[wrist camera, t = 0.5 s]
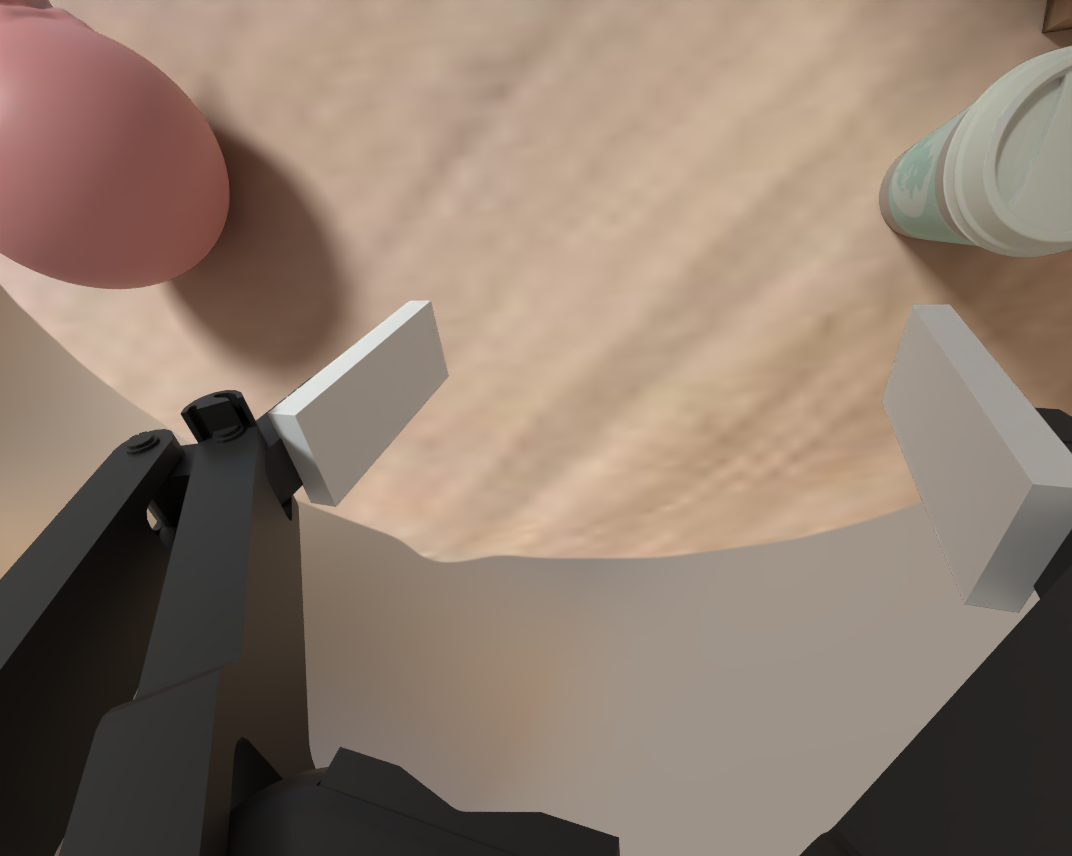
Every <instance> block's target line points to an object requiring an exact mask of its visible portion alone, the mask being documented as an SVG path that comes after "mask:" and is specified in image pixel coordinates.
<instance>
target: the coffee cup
mask: <svg viewBox="0 0 1072 856" xmlns="http://www.w3.org/2000/svg"><path fill="white" fill-rule="evenodd" d="M879 204H880V210H881V213H882V216H883V218H884V220H885V221H886V223H887V224H888V225H889V226H890V227H891V228H892V229H893V230H894V231H896V232H897V233H899V234H901V235H903V236H906V237H910V238H916V239H924V240H932V241H940V242H948V243H957V244H965V245H973V246H980V247H982V248H984V249H986V250H988V251H991V252H994V253H997V254H1000V255H1005V256H1011V257H1040V256H1046V255H1051V254H1055V253H1059V252H1063V251H1066V250H1070V249H1072V46H1069V47H1065V48H1061V49H1057V50H1053V51H1050V52H1047V53H1044V54H1041V55H1039V56H1036V57H1034V58H1032V59H1030V60H1028V61H1026V62H1024V63H1022V64H1020V65H1018V66H1017V67H1015V68H1013V69H1012V70H1010V71H1009V72H1007V73H1006V74H1005V75H1003V76H1002V77H1001V78H999V79H998V80H997V81H996V82H994V83H993V84H992V85H991V86H990V87H989V88H988V89H987V90H986V91H985V92H984V93H983V94H982V95H981V96H980V97H979V98H978V99H977V100H976V101H975V103H974V104H972V105H971V106H969V107H968V108H967V109H965V110H964V111H962V112H961V113H959V114H958V115H956V116H955V117H954V118H952V119H951V120H949V121H948V122H946V123H945V124H944V125H942V126H941V127H939V128H938V129H936V130H935V131H933V132H932V133H931V134H929V135H928V136H926V137H925V138H923V139H922V140H921V141H919V142H918V143H917V144H915V145H914V146H912V147H911V148H910V149H908V150H907V151H905V152H904V153H903V154H902V155H901V156H899V157H898V158H897V159H896V161H895V162H894V163H893V164H892V165H891V167H890V168H889V170H888V171H887V173H886V175H885V177H884V179H883V182H882V185H881V189H880V194H879Z"/></svg>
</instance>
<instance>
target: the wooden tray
mask: <svg viewBox="0 0 1072 856" xmlns="http://www.w3.org/2000/svg"><path fill="white" fill-rule="evenodd" d="M1067 29H1072V0H1048V1H1047V7H1046V13H1045V19H1044V24H1043V30H1042V33H1046V32H1053V31H1060V30H1067Z"/></svg>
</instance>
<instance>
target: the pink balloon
mask: <svg viewBox="0 0 1072 856" xmlns="http://www.w3.org/2000/svg"><path fill="white" fill-rule="evenodd" d="M229 198H230V191H229V179H228V173H227V168H226V164H225V161H224V158H223V155H222V152H221V149H220V147H219V144H218V142H217V140H216V138H215V136H214V134H213V132H212V130H211V128H210V126H209V125H208V123H207V122H206V120H205V118H204V117H203V115H202V114H201V113H200V111H199V110H198V108H197V107H196V106H195V105H194V103H193V102H192V101H191V100H190V98H189V97H188V96H187V95H186V94H185V93H184V92H183V91H182V90H181V88H180V87H179V86H178V85H177V84H176V83H175V82H173V81H172V80H171V79H170V78H169V77H168V76H167V75H166V74H165V73H163V72H162V71H161V70H160V69H159V68H157V67H156V66H155V65H153V64H152V63H151V62H149V61H148V60H147V59H145V58H144V57H142V56H141V55H139V54H138V53H136V52H134V51H133V50H131V49H129V48H128V47H126V46H124V45H122V44H121V43H119V42H117V41H115V40H113V39H111V38H108V37H106V36H104V35H102V34H99V33H97V32H95V31H94V30H93V29H92V28H90V27H89V26H88V25H87V24H86V23H84V22H83V21H81V20H79V19H78V18H76V17H74V16H73V15H72V14H70V13H69V12H68V11H66V10H64V9H61V8H54V7H53V6H52V5H51V4H50V2H49V0H0V253H1V254H3V255H5V256H6V257H8V258H10V259H11V260H13V261H15V262H17V263H19V264H21V265H23V266H25V267H27V268H29V269H31V270H33V271H36V272H38V273H41V274H43V275H46V276H49V277H52V278H55V279H58V280H61V281H64V282H68V283H72V284H77V285H82V286H87V287H94V288H104V289H131V288H140V287H146V286H151V285H155V284H159V283H162V282H165V281H168V280H170V279H173V278H175V277H177V276H179V275H181V274H183V273H185V272H186V271H188V270H190V269H191V268H193V267H194V266H195V265H197V264H198V263H199V262H200V261H201V260H202V259H203V258H204V257H205V256H206V255H207V254H208V253H209V252H210V251H211V249H212V248H213V247H214V245H215V244H216V242H217V240H218V239H219V237H220V235H221V233H222V231H223V228H224V225H225V222H226V219H227V215H228V209H229Z"/></svg>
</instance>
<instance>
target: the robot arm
mask: <svg viewBox="0 0 1072 856" xmlns="http://www.w3.org/2000/svg"><path fill="white" fill-rule="evenodd" d="M448 376H449V375H448V371H447V367H446V363H445V359H444V354H443V350H442V346H441V342H440V338H439V333H438V329H437V325H436V321H435V316H434V312H433V308H432V304H431V301H409V302H407V303H406V304H405V305H404V306H402V307H401V308H400V309H399V310H397V311H396V312H395V313H394V314H392V315H391V316H390V317H388V318H387V319H386V320H385V321H383V322H382V323H381V324H380V325H378V326H377V327H376V328H375V329H373V330H372V331H371V332H369V333H368V334H367V335H366V336H364V337H363V338H362V339H361V340H359V341H358V342H357V343H356V344H354V345H353V346H352V347H350V348H349V349H348V350H347V351H345V352H344V353H343V354H342V355H340V356H339V357H338V358H337V359H335V360H334V361H333V362H331V363H330V364H329V365H328V366H326V367H325V368H324V369H323V370H321V371H320V372H319V373H318V374H316V375H315V376H313V377H311V378H310V379H308V380H307V381H306V382H305V383H303V384H302V385H301V386H300V387H298V389H297V390H294V391H293V392H292V393H291V394H289V395H288V397H287V398H284V399H283V400H282V401H280V402H279V403H278V404H277V405H275V406H274V407H273V408H272V409H270V410H269V411H268V412H266V413H265V414H264V415H263V416H261V417H260V418H259V419H258V420H256V421H255V419H254V417H253V415H252V413H251V411H250V409H249V407H248V405H247V403H246V401H245V399H244V397H243V395H242V393H241V392H239V391H236V390H225V391H220V392H215V393H212V394H209V395H206V396H203V397H201V398H199V399H197V400H195V401H193V402H192V403H190V404H189V405H188V406H186V407H185V408H184V409H183V411H182V412H181V415H182V417H183V419H184V420H185V422H186V424H187V425H188V427H189V429H190V430H191V432H192V434H193V435H194V437H195V439H196V440H197V442H198V444H191V445H184V446H180V444H179V442H178V441H177V439H176V438H175V436H174V434H173V433H172V431H170V430H166V429H161V430H154V431H149V432H142V433H139V435H135V436H132V437H131V438H130V439H129V440H127V441H126V442H124V443H122V444H121V445H120V446H119V447H117V448H116V449H115V450H114V451H113V452H112V454H111V455H110V456H109V457H108V458H107V459H106V460H105V461H104V462H103V464H102V465H101V466H100V467H99V468H98V469H97V470H96V472H95V473H94V474H93V475H92V476H91V477H90V478H89V479H88V481H87V482H86V483H85V484H84V485H83V486H82V488H81V489H80V490H79V491H78V492H77V493H76V494H75V495H74V497H73V498H72V499H71V500H70V501H69V502H68V503H67V504H66V506H65V507H64V508H63V509H62V510H61V511H60V512H59V514H58V515H57V516H56V517H55V518H54V519H53V520H52V521H51V523H50V524H49V525H48V526H47V527H46V528H45V529H44V531H43V532H42V533H41V534H40V535H39V536H38V537H37V539H36V540H35V541H34V542H33V543H32V544H31V545H30V546H29V548H28V549H27V550H26V551H25V552H24V553H23V554H22V556H21V557H20V558H19V559H18V560H17V562H15V563H14V565H13V566H12V567H11V568H10V569H9V570H8V572H7V573H6V574H5V575H4V576H3V577H2V578H1V580H0V856H54V855H55V853H56V851H57V849H58V847H59V845H60V844H61V842H62V840H63V838H64V840H63V844H62V847H61V850H60V854H59V856H620V850H619V837H616V836H612V835H609V834H606V833H603V832H600V831H597V830H594V829H591V828H588V827H585V826H582V825H579V824H576V823H573V822H569V821H566V820H563V819H560V818H557V817H554V816H551V815H547V814H545V813H542V812H463V811H459V810H456V809H454V808H453V807H451V806H450V805H449V804H448V803H446V802H445V801H444V800H442V799H441V798H440V797H438V796H437V795H436V794H435V793H433V792H432V791H431V790H430V789H428V788H427V787H426V786H424V785H423V784H422V783H420V782H419V781H418V780H417V779H415V778H414V777H413V776H412V775H410V774H409V773H408V772H406V771H405V770H404V769H403V768H401V767H400V766H397V765H394V764H391V763H388V762H385V761H382V760H379V759H376V758H373V757H370V756H367V755H364V754H361V753H358V752H355V751H352V750H348V749H345V748H342V747H340V748H339V750H338V751H337V753H336V755H335V757H334V759H333V761H332V762H331V764H330V766H329V767H325V768H319V769H316V768H315V766H314V763H313V760H312V756H311V752H310V747H309V732H308V708H307V688H306V687H307V686H306V664H305V641H304V619H303V596H302V576H301V575H302V574H301V552H300V529H299V508H298V507H299V506H298V504H297V501H296V499H295V497H294V495H293V494H294V493H295V492H296V491H297V490H298V489H299V488H300V487H301V486H302V485H303V487H304V489H305V491H306V493H307V495H308V497H309V499H310V501H311V503H315V504H322V505H328V506H335V507H336V506H337V505H338V504H339V503H340V502H341V500H342V499H343V498H344V497H345V496H346V495H347V494H348V492H349V491H350V490H351V489H352V488H353V487H354V485H355V484H356V483H357V482H358V481H359V480H360V478H361V477H362V476H363V475H364V474H365V473H366V471H367V470H368V469H369V468H370V467H371V466H372V465H373V463H374V462H375V461H376V460H377V459H378V458H379V456H380V455H381V454H382V453H383V452H384V451H385V449H386V448H387V447H388V446H389V445H390V444H391V443H392V441H393V440H394V439H395V438H396V437H397V436H398V434H399V433H400V432H401V431H402V430H403V429H404V427H405V426H406V425H407V424H408V423H409V422H410V420H411V419H412V418H413V417H414V416H415V415H416V414H417V412H418V411H419V410H420V409H421V408H422V407H423V405H424V404H425V403H426V402H427V401H428V400H429V398H430V397H431V396H432V395H433V394H434V393H435V392H436V390H437V389H438V388H439V387H440V386H441V385H442V383H443V382H444V381H445V380H446V379H447V378H448ZM882 403H883V405H884V408H885V410H886V413H887V415H888V418H889V420H890V423H891V425H892V427H893V430H894V432H895V435H896V437H897V440H898V442H899V445H900V447H901V450H902V452H903V455H904V457H905V459H906V462H907V464H908V467H909V469H910V472H911V474H912V477H913V479H914V482H915V484H916V487H917V489H918V491H919V494H920V496H921V499H922V501H923V504H924V506H925V509H926V511H927V514H928V516H929V518H930V521H931V523H932V526H933V528H934V531H935V533H936V536H937V538H938V541H939V543H940V545H941V548H942V550H943V553H944V555H945V558H946V560H947V563H948V565H949V568H950V570H951V573H952V575H953V577H954V580H955V582H956V585H957V587H958V590H959V592H960V595H961V597H962V600H963V602H964V604H966V605H973V606H979V607H985V608H992V609H999V610H1005V611H1012V612H1018V613H1019V612H1020V610H1021V609H1022V607H1023V606H1024V604H1025V603H1026V601H1027V600H1028V598H1029V597H1030V596H1031V594H1032V593H1033V591H1034V590H1036V592H1037V594H1038V596H1039V597H1040V600H1039V601H1038V602H1037V603H1036V604H1035V606H1034V607H1033V608H1032V609H1031V610H1030V611H1029V612H1028V613H1027V614H1026V615H1025V617H1024V618H1023V619H1022V620H1021V621H1020V622H1019V623H1018V624H1017V625H1016V626H1015V628H1014V629H1013V630H1012V631H1011V632H1010V633H1009V634H1008V635H1007V636H1006V637H1005V639H1004V640H1003V641H1002V642H1001V643H1000V644H999V645H998V646H997V648H996V649H995V650H994V651H993V652H992V653H991V654H990V655H989V656H988V657H987V658H986V660H985V661H984V662H983V663H982V664H981V665H980V666H979V667H978V669H977V670H976V671H975V672H974V673H973V674H972V675H971V676H970V677H969V678H968V679H967V681H966V682H965V683H964V684H963V685H962V686H961V687H960V688H959V689H958V691H957V692H956V693H955V694H954V695H953V696H952V697H951V698H950V699H949V701H948V702H947V703H946V704H945V705H944V706H943V707H942V708H941V709H940V710H939V712H938V713H937V714H936V715H935V716H934V717H933V718H932V719H931V720H930V721H929V723H928V724H927V725H926V726H925V727H924V728H923V729H922V730H921V731H920V732H919V733H918V735H917V736H916V737H915V738H914V739H913V740H912V741H911V743H910V744H909V745H908V746H907V747H906V748H905V749H904V750H903V751H902V752H901V753H900V754H899V756H898V757H897V758H896V759H895V760H894V761H893V762H892V763H891V764H890V766H889V767H888V768H887V769H886V770H885V771H884V772H883V773H882V774H881V775H880V777H879V778H878V779H877V780H876V781H875V782H874V783H873V784H872V785H871V787H870V788H869V789H868V790H867V791H866V792H865V793H864V794H863V795H862V796H861V798H860V799H859V800H858V801H857V802H856V803H855V805H853V806H852V808H851V809H850V810H849V811H848V812H847V813H846V814H845V815H844V816H843V817H842V818H841V820H840V821H839V822H838V823H837V824H836V825H835V826H834V827H833V828H832V829H831V830H829V831H828V832H826V833H823V834H821V835H820V836H819V837H818V838H817V839H816V840H815V841H813V842H812V843H811V844H810V845H809V846H808V847H807V848H806V849H805V851H803V853H802V854H801V855H800V856H1072V417H1071V416H1070V415H1068V414H1066V413H1064V412H1063V411H1061V410H1059V409H1045V408H1034V407H1033V406H1032V404H1031V403H1030V402H1029V401H1028V400H1027V398H1026V397H1025V396H1024V395H1023V393H1022V392H1021V391H1020V390H1019V389H1018V387H1017V386H1016V385H1015V384H1014V382H1013V381H1012V380H1011V379H1010V378H1009V376H1008V375H1007V374H1006V373H1005V371H1004V370H1003V369H1002V368H1001V366H1000V365H999V364H998V363H997V362H996V360H995V359H994V358H993V357H992V355H991V354H990V353H989V352H988V351H987V349H986V348H985V347H984V346H983V344H982V343H981V342H980V341H979V340H978V338H977V337H976V336H975V335H974V333H973V332H972V331H971V330H970V329H969V327H968V326H967V325H966V324H965V322H964V321H963V320H962V319H961V318H960V316H959V315H958V314H957V313H956V311H955V310H954V309H953V308H952V307H951V305H923V304H912V307H911V310H910V313H909V316H908V319H907V322H906V326H905V329H904V332H903V335H902V338H901V342H900V345H899V348H898V351H897V354H896V357H895V361H894V364H893V367H892V370H891V373H890V376H889V380H888V383H887V386H886V389H885V392H884V395H883V399H882ZM147 508H148V509H149V511H150V512H151V513H152V515H153V516H154V517H155V519H156V520H157V523H156V524H155V526H154V528H153V529H152V528H151V527H150V524H149V522H148V520H147ZM137 689H138V692H137V694H136V697H135V699H134V700H132V699H133V697H134V695H135V693H136V691H137ZM64 836H65V837H64Z"/></svg>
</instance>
